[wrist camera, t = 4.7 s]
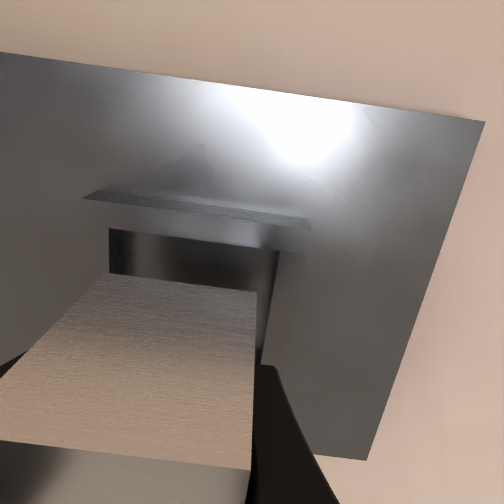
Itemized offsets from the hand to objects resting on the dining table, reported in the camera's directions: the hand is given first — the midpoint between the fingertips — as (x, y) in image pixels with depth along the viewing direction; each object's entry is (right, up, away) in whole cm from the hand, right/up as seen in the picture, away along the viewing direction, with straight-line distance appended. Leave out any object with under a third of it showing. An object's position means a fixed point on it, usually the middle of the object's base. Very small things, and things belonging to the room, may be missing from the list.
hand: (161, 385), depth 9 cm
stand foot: (0, +2, +5) cm, 6 cm away
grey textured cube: (0, 0, +2) cm, 2 cm away
